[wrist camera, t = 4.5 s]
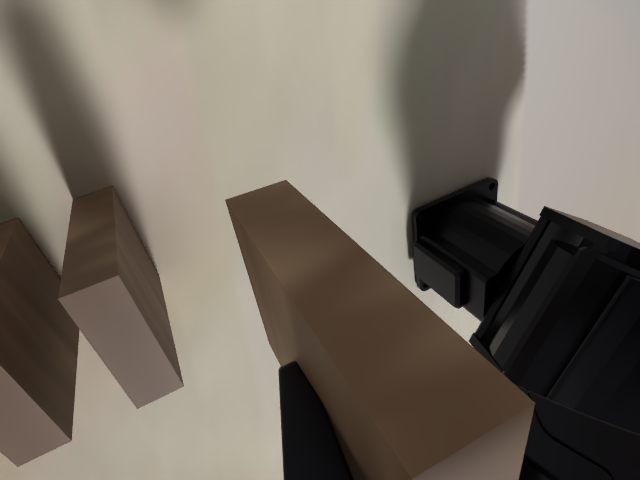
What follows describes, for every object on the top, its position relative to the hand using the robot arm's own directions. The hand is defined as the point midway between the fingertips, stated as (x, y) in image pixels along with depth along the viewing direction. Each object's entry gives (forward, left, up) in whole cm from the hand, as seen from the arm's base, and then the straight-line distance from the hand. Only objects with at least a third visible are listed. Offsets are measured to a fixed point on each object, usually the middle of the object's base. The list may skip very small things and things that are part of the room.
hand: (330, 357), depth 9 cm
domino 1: (+9, +1, -12) cm, 15 cm away
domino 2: (+5, +1, -12) cm, 13 cm away
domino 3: (0, 0, -3) cm, 3 cm away
